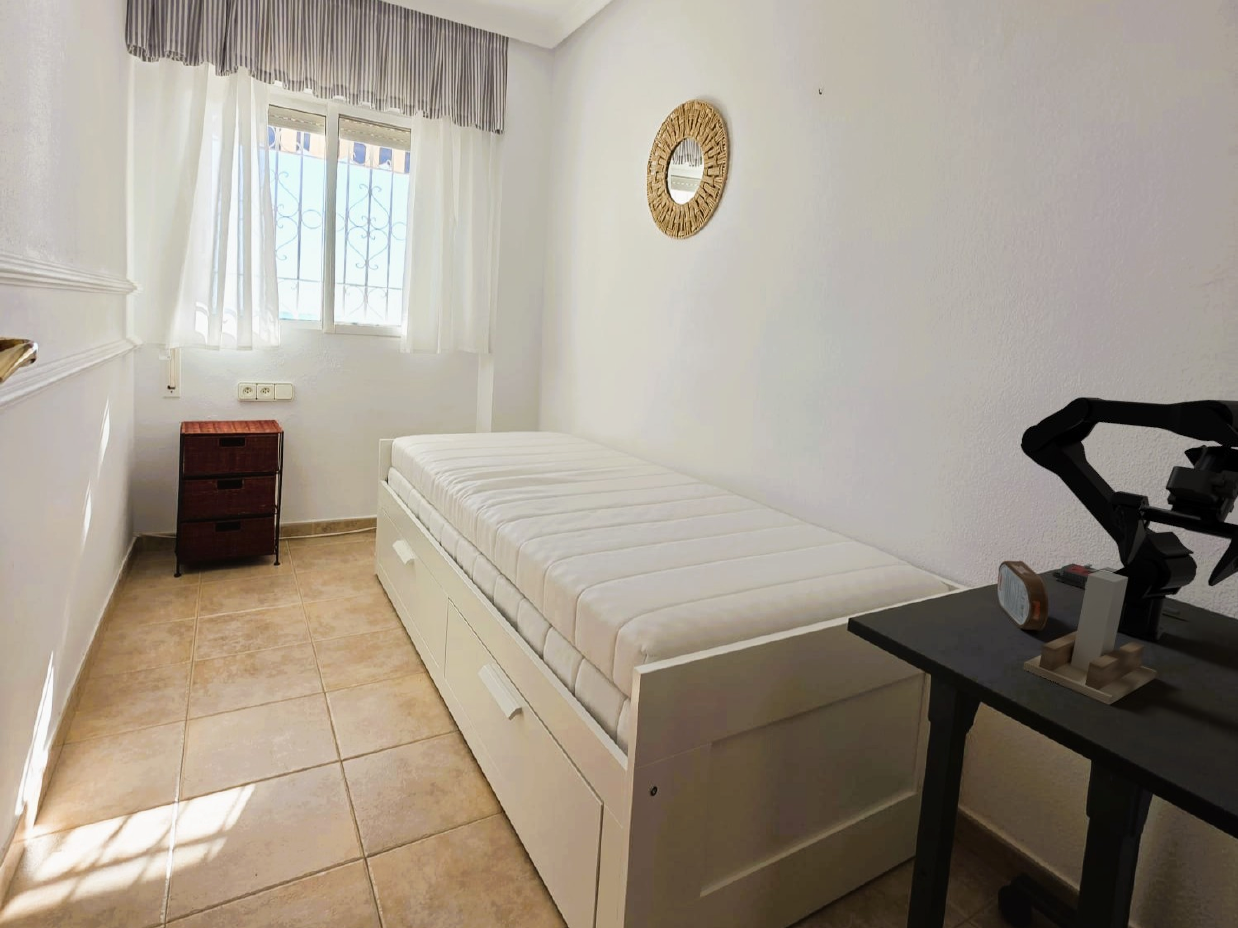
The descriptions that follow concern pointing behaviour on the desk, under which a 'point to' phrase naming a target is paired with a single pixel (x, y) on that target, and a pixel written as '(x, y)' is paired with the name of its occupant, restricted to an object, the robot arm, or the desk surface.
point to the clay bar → (1099, 617)
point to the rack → (1093, 669)
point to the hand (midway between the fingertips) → (1166, 572)
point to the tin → (1022, 595)
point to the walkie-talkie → (1079, 577)
